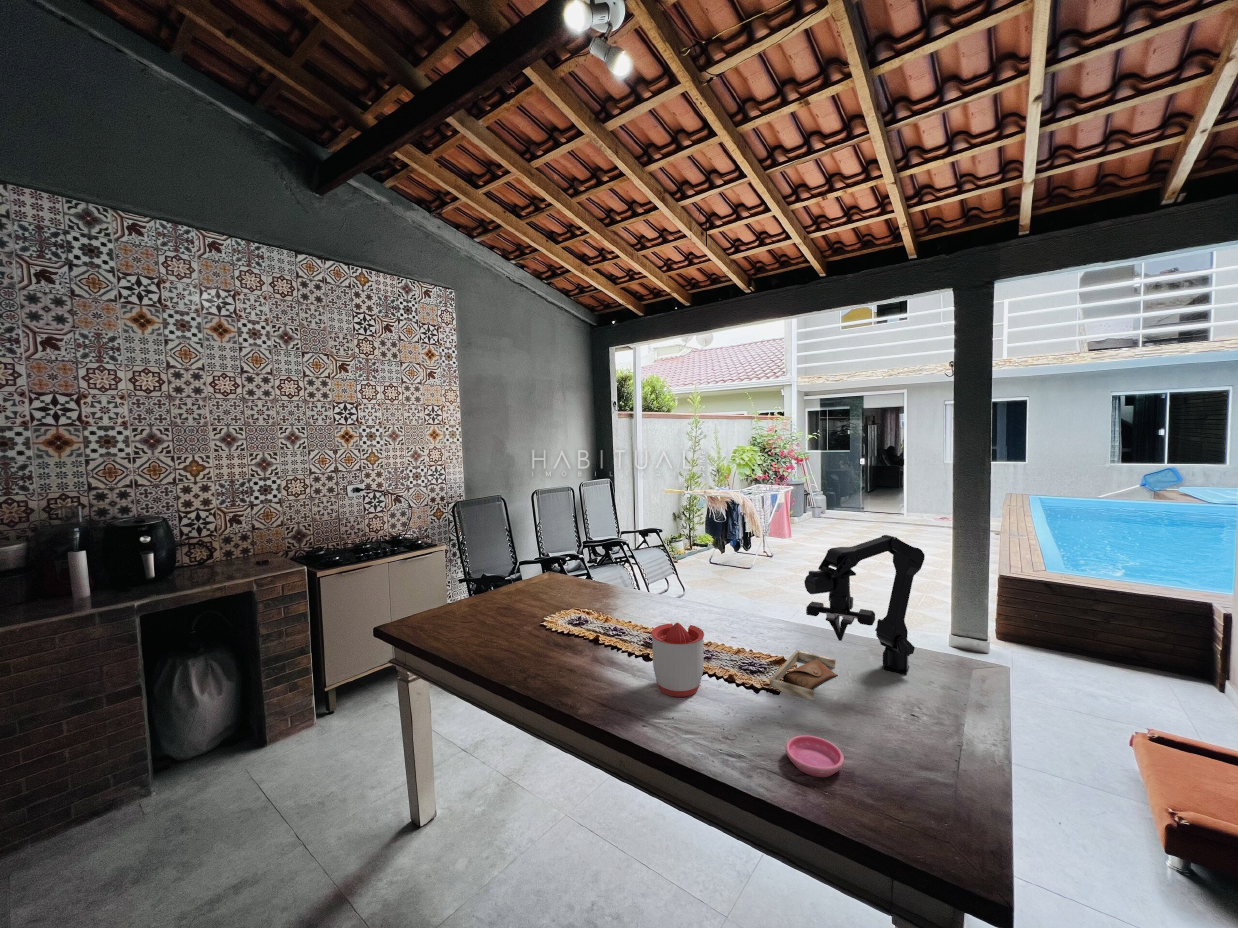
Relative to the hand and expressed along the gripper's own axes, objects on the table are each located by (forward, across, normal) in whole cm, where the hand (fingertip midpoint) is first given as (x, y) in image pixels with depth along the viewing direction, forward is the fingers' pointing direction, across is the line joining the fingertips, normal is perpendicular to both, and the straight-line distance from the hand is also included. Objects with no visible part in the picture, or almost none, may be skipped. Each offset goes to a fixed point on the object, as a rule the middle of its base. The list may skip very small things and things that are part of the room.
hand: (840, 640), depth 154 cm
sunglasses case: (+12, +7, +6) cm, 15 cm away
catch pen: (+11, +9, +6) cm, 16 cm away
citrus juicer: (+11, +39, +32) cm, 52 cm away
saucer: (+11, -4, +46) cm, 48 cm away
